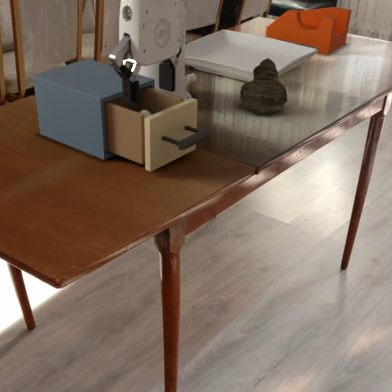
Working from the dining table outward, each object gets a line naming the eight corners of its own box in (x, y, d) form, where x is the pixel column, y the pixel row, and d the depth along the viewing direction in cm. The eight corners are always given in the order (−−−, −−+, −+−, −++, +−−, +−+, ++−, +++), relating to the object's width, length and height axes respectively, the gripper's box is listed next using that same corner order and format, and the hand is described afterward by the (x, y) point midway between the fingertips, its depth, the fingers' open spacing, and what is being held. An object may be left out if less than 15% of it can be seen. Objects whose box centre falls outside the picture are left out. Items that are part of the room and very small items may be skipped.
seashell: (306, 74, 130) (266, 63, 134) (286, 52, 119) (243, 40, 124) (284, 128, 132) (245, 115, 137) (263, 110, 122) (221, 97, 126)
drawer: (218, 157, 110) (221, 107, 104) (173, 181, 103) (174, 128, 97) (131, 125, 119) (130, 78, 113) (84, 145, 112) (80, 95, 106)
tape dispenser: (345, 43, 169) (351, 9, 164) (327, 55, 161) (333, 19, 156) (285, 31, 176) (289, -2, 171) (265, 42, 168) (268, 7, 162)
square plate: (268, 93, 138) (270, 75, 136) (165, 68, 148) (165, 51, 146) (317, 63, 156) (320, 46, 153) (222, 42, 166) (223, 26, 163)
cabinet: (155, 137, 118) (154, 79, 111) (104, 160, 110) (100, 99, 103) (92, 114, 125) (88, 58, 118) (40, 134, 117) (32, 75, 110)
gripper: (127, -8, 87) (131, 117, 98) (203, -26, 97) (198, 89, 109) (88, -17, 90) (96, 105, 101) (166, -34, 100) (165, 78, 112)
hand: (149, 96), depth 105 cm, fingers open, 8 cm apart
